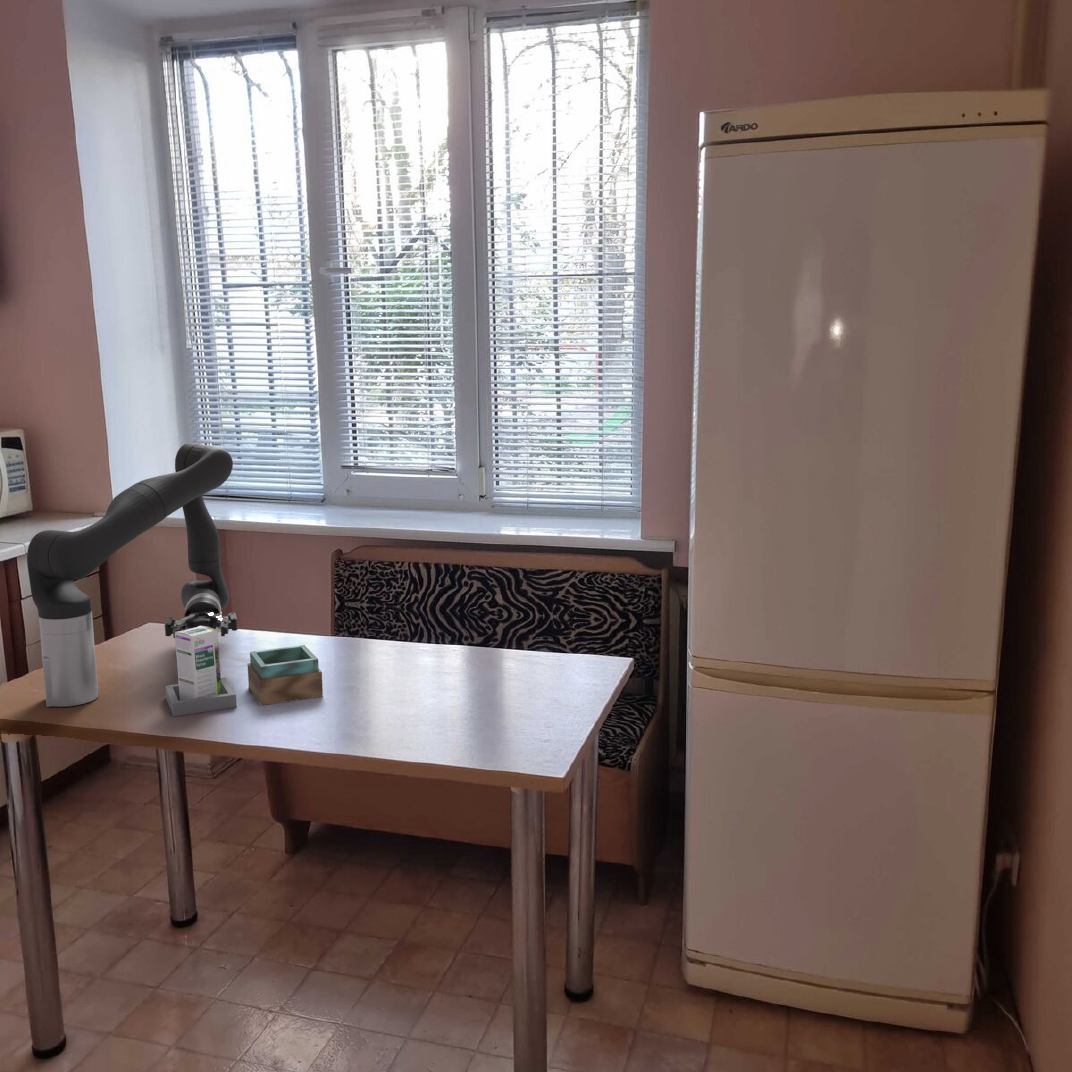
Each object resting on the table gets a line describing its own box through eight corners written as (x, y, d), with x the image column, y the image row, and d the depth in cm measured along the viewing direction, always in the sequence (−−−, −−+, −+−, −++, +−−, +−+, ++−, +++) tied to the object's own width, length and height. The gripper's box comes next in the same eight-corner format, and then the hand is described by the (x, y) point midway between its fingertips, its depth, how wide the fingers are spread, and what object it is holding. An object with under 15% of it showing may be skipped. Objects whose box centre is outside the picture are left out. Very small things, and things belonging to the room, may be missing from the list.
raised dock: (260, 705, 185) (259, 667, 183) (248, 687, 195) (246, 651, 194) (322, 696, 190) (321, 659, 189) (307, 678, 201) (306, 643, 199)
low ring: (173, 716, 179) (172, 703, 178) (165, 697, 189) (165, 685, 188) (236, 706, 184) (235, 694, 183) (226, 689, 194) (225, 677, 193)
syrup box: (196, 709, 182) (192, 635, 180) (178, 703, 186) (174, 630, 183) (222, 701, 187) (218, 629, 184) (204, 695, 190) (200, 624, 188)
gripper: (167, 599, 208) (161, 618, 193) (236, 594, 212) (236, 612, 197) (169, 632, 209) (164, 654, 194) (238, 627, 213) (238, 648, 198)
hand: (200, 633), depth 195 cm, fingers open, 8 cm apart
